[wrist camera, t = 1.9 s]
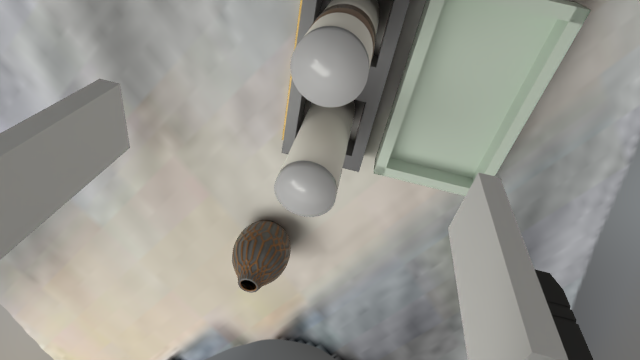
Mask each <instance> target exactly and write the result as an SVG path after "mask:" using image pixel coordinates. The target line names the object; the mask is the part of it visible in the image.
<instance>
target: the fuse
mask: <svg viewBox="0 0 640 360" xmlns="http://www.w3.org/2000/svg"><path fill="white" fill-rule="evenodd" d="M354 116H355V105H354V102H353V101H352V102H350V103H348V104H346V105H343V106H340V107H323V106H319V105H316V104H314V103H312V104H311V106H310V108H309V110H308V112H307V115H306V117H305V119H304V121H303V123H302V125H301V127H300V130H299V132H298V134H297V136H296V138H295V140H294V142H293V145H292V147H291V149H290V151H289V153H288V155H287V158H286V160H285V162H284V164H283V166H282V168H281V170H280V173H279V175H278V177H277V179H276V181H275V185H274V190H275V195H276V197H277V199H278V201H279V202H280V204H281V205H282V206H283V207H284V208H286V209H287V210H288V211H290V212H292V213H294V214H296V215H300V216H304V217H315V216H320V215H322V214H324V213H326V212H328V211H329V210H330V209H331V208H332V206H333V205H334V202H335V199H336V194H337V190H338V186H339V181H340V177H341V173H342V168H343V164H344V159H345V155H346V151H347V146H348V142H349V137H350V133H351V129H352V124H353V120H354Z"/></svg>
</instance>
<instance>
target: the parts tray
mask: <svg viewBox="0 0 640 360" xmlns="http://www.w3.org/2000/svg"><path fill="white" fill-rule="evenodd" d="M590 11H591V10H590V9H588V8H586V7H584V6H582V5H580V4H578V3H575V2H571V1H566V0H427V1H426V4H425V7H424V10H423V13H422V16H421V19H420V22H419V25H418V28H417V31H416V35H415V38H414V41H413V44H412V47H411V50H410V53H409V56H408V59H407V62H406V65H405V69H404V72H403V75H402V78H401V81H400V84H399V87H398V90H397V93H396V96H395V100H394V103H393V106H392V109H391V112H390V115H389V118H388V121H387V124H386V127H385V130H384V134H383V137H382V140H381V143H380V146H379V149H378V152H377V155H376V158H375V165H374V174H378V175H382V176H386V177H390V178H394V179H398V180H402V181H406V182H411V183H415V184H419V185H423V186H427V187H431V188H435V189H439V190H443V191H447V192H451V193H455V194H459V195H463V196H466V194H467V193H468V191H469V189H470V187H471V185H472V183H473V181H474V180H475V178H476V176H477V174H478V172H479V173H483V174H487V175H491V176H495V175H496V173H497V171H498V170H499V168H500V166H501V165H502V163H503V161H504V159H505V158H506V156H507V154H508V152H509V151H510V149H511V147H512V146H513V144H514V142H515V140H516V139H517V137H518V135H519V133H520V132H521V130H522V128H523V127H524V125H525V123H526V121H527V120H528V118H529V116H530V115H531V113H532V111H533V109H534V108H535V106H536V104H537V102H538V101H539V99H540V97H541V96H542V94H543V92H544V90H545V89H546V87H547V85H548V83H549V82H550V80H551V78H552V77H553V75H554V73H555V71H556V70H557V68H558V66H559V65H560V63H561V61H562V59H563V58H564V56H565V54H566V52H567V51H568V49H569V47H570V46H571V44H572V42H573V40H574V39H575V37H576V35H577V33H578V32H579V30H580V28H581V27H582V25H583V23H584V21H585V20H586V18H587V16H588V14H589V13H590Z"/></svg>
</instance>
